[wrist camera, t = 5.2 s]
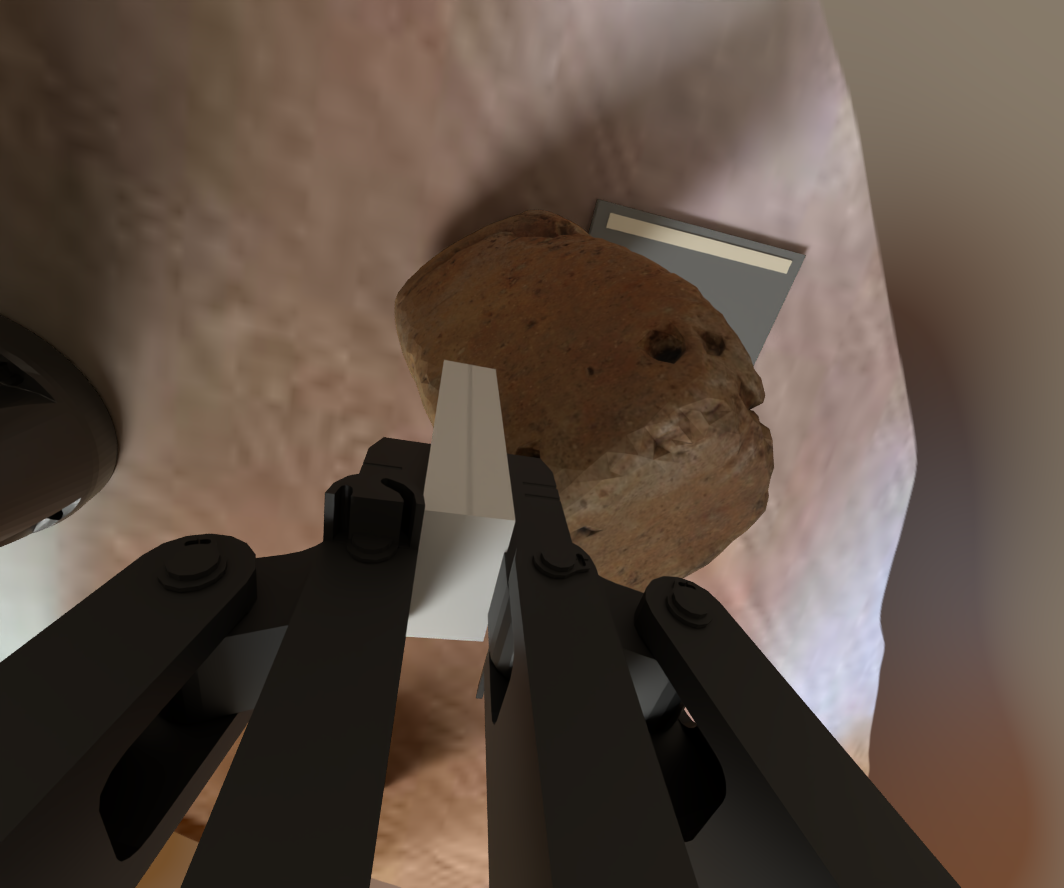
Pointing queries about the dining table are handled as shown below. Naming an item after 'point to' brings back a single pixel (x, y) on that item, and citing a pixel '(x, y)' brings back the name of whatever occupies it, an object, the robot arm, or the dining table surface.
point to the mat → (709, 265)
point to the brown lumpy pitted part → (601, 387)
